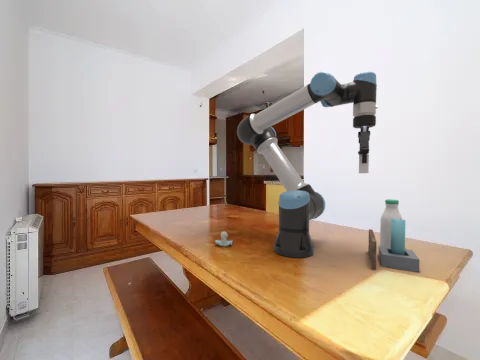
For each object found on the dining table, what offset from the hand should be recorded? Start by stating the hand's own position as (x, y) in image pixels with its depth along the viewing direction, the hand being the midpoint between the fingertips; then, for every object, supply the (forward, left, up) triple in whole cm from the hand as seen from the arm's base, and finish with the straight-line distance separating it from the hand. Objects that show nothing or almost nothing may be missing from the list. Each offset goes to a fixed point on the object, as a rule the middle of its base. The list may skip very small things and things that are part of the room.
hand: (363, 173), depth 87 cm
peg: (+10, -5, -30) cm, 32 cm away
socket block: (+10, -5, -31) cm, 33 cm away
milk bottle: (+11, +14, -31) cm, 36 cm away
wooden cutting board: (+3, -5, -31) cm, 31 cm away
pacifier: (-52, -14, -31) cm, 62 cm away
